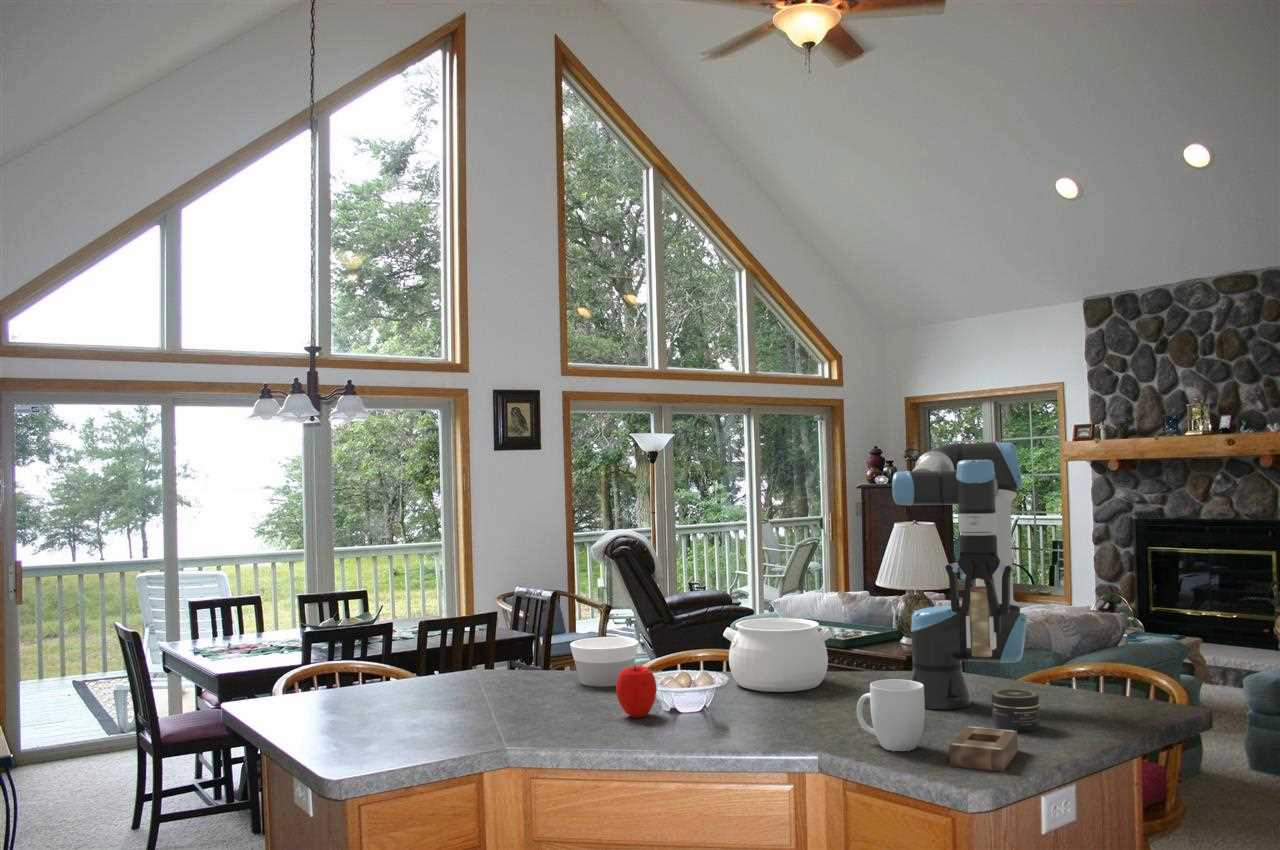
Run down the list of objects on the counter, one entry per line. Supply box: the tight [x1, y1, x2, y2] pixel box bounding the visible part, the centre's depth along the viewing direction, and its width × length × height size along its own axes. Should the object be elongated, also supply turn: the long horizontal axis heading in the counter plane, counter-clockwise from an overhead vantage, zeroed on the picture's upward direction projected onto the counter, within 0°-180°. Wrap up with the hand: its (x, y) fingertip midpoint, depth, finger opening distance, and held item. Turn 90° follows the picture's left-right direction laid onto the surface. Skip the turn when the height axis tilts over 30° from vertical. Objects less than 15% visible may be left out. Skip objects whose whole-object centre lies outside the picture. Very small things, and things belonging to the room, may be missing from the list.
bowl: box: [569, 636, 640, 688], centre depth 297 cm, size 19×19×11 cm
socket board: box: [948, 725, 1019, 772], centre depth 213 cm, size 10×16×4 cm, turn 151°
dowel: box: [969, 585, 992, 657], centre depth 220 cm, size 4×4×14 cm
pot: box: [722, 617, 833, 693], centre depth 287 cm, size 29×26×16 cm
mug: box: [856, 679, 926, 752], centre depth 223 cm, size 15×11×13 cm
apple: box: [615, 664, 658, 719], centre depth 256 cm, size 10×10×12 cm
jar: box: [991, 688, 1040, 733], centre depth 236 cm, size 10×10×8 cm
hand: (981, 647), depth 220 cm, fingers closed on dowel, 4 cm apart
